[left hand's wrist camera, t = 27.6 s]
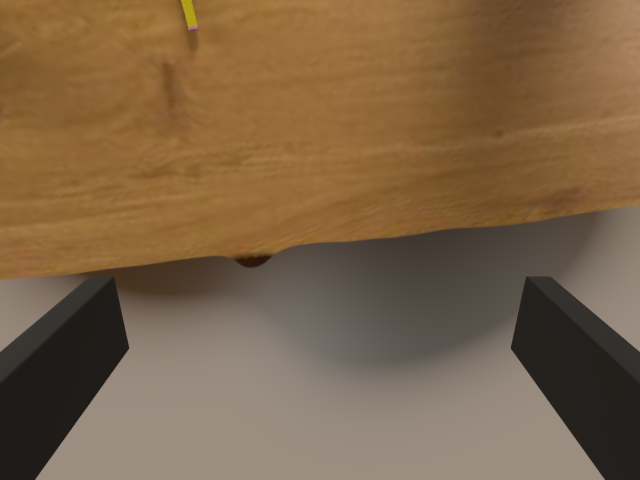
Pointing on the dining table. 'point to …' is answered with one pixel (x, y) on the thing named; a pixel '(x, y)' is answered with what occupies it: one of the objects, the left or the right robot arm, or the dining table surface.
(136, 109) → the dining table surface
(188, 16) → the pencil
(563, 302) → the left robot arm
